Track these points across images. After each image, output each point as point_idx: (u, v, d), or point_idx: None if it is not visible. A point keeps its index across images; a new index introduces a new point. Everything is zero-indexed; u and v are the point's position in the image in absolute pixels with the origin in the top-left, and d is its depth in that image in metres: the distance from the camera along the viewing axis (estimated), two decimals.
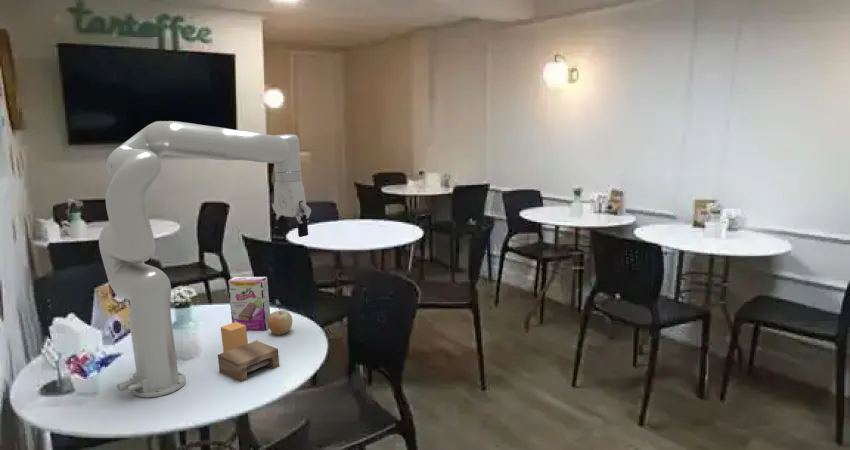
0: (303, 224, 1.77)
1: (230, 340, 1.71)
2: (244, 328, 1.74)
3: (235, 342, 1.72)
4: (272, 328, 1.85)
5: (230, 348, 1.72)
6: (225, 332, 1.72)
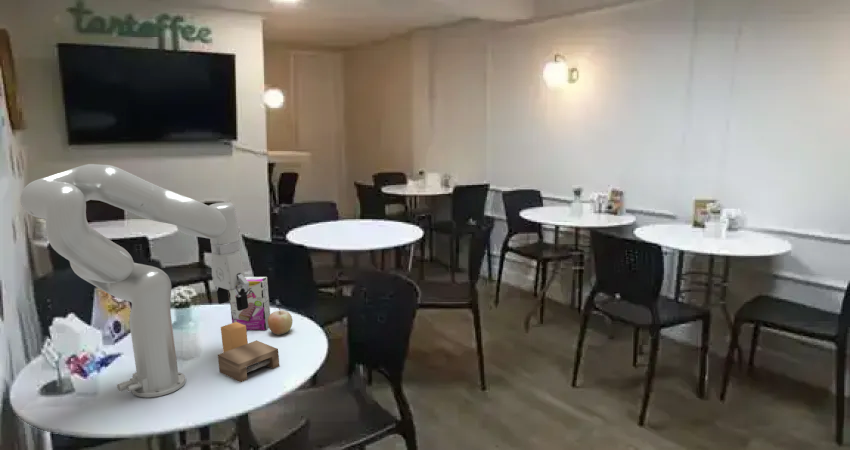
0: (242, 297, 1.68)
1: (230, 340, 1.71)
2: (244, 328, 1.74)
3: (235, 342, 1.72)
4: (272, 328, 1.85)
5: (230, 348, 1.72)
6: (225, 332, 1.72)
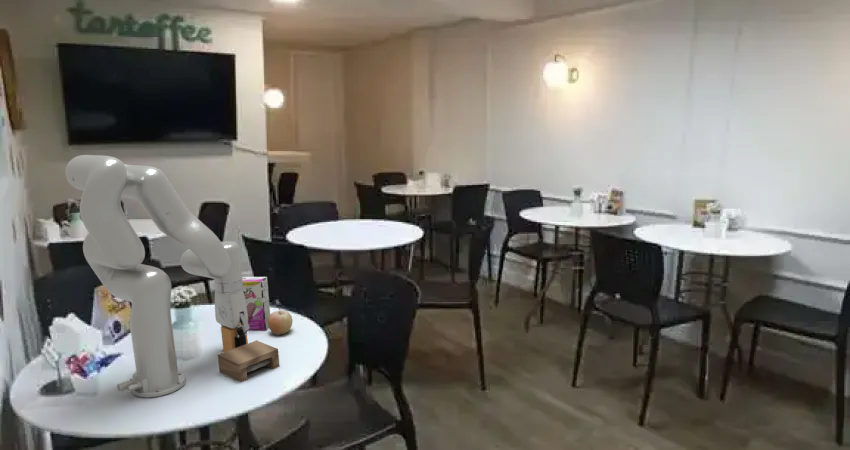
0: (240, 338, 1.71)
1: (230, 340, 1.71)
2: None
3: None
4: (272, 328, 1.85)
5: (230, 348, 1.72)
6: (225, 332, 1.72)
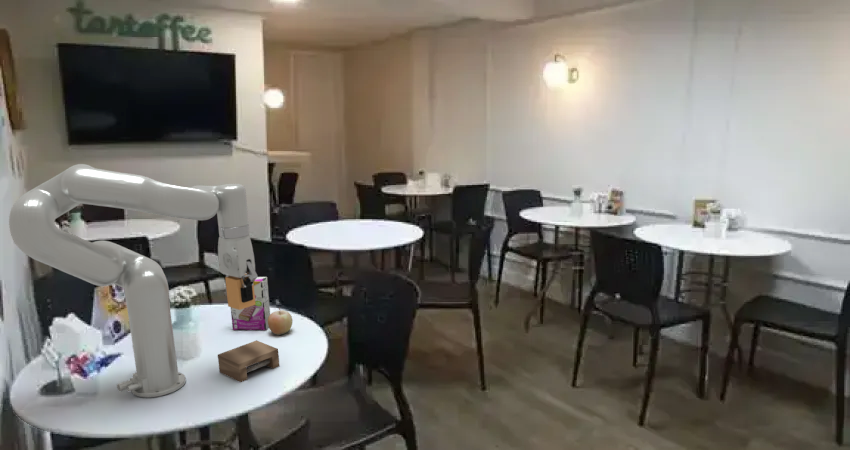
0: (247, 288, 1.58)
1: (236, 290, 1.58)
2: None
3: None
4: (272, 328, 1.85)
5: (236, 299, 1.59)
6: (230, 282, 1.59)
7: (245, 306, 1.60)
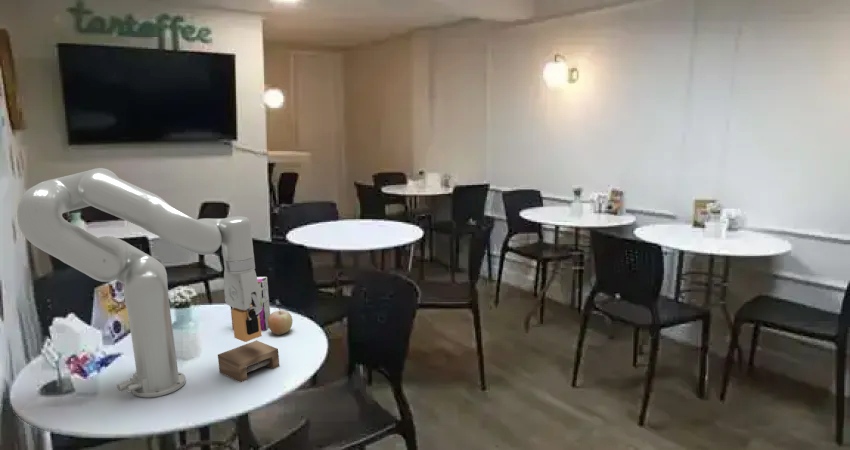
0: (252, 320, 1.58)
1: (242, 323, 1.58)
2: None
3: None
4: (272, 328, 1.85)
5: (242, 332, 1.59)
6: (236, 315, 1.59)
7: (251, 338, 1.60)
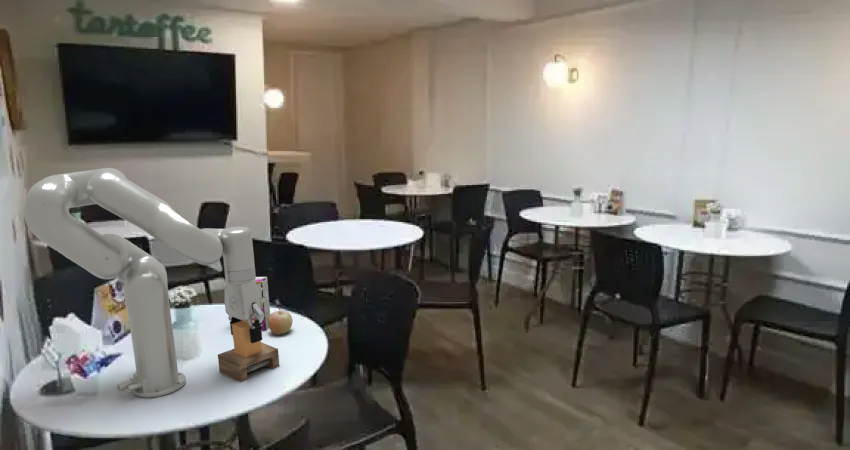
0: (256, 329, 1.57)
1: (242, 338, 1.59)
2: None
3: (248, 340, 1.59)
4: (272, 328, 1.85)
5: (242, 347, 1.59)
6: (236, 330, 1.60)
7: (251, 353, 1.61)
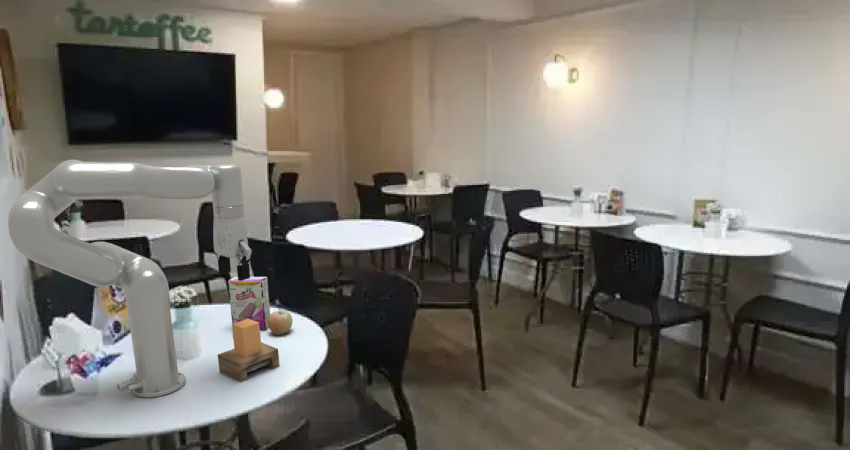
0: (243, 266, 1.56)
1: (242, 338, 1.59)
2: (257, 325, 1.61)
3: (248, 340, 1.59)
4: (272, 328, 1.85)
5: (242, 347, 1.59)
6: (236, 330, 1.60)
7: (251, 353, 1.61)
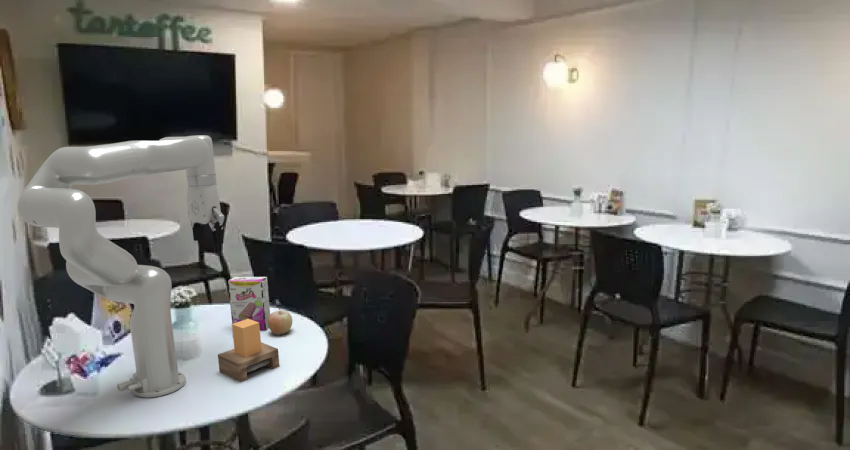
0: (217, 231, 1.66)
1: (242, 338, 1.59)
2: (257, 325, 1.61)
3: (248, 340, 1.59)
4: (272, 328, 1.85)
5: (242, 347, 1.59)
6: (236, 330, 1.60)
7: (251, 353, 1.61)
